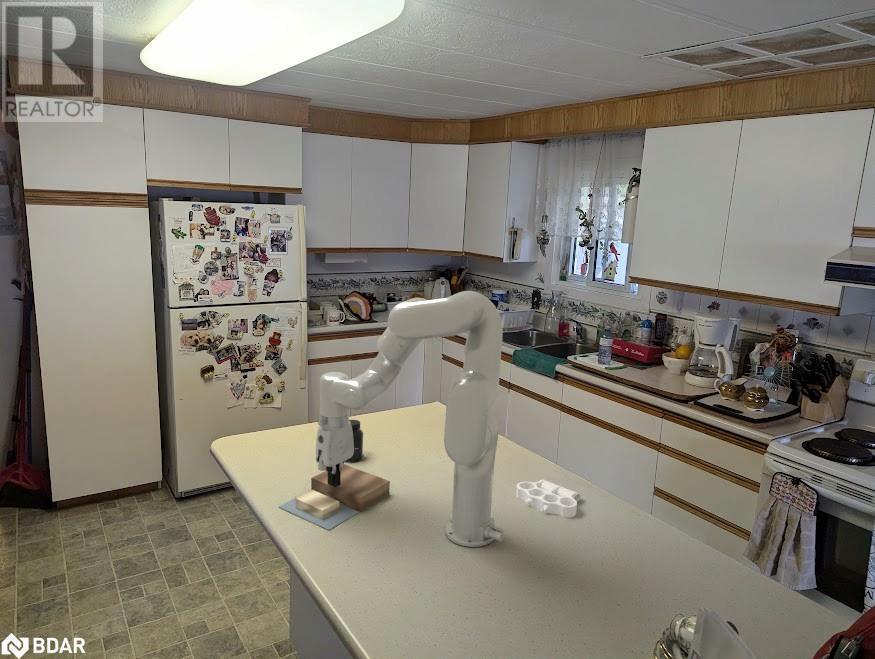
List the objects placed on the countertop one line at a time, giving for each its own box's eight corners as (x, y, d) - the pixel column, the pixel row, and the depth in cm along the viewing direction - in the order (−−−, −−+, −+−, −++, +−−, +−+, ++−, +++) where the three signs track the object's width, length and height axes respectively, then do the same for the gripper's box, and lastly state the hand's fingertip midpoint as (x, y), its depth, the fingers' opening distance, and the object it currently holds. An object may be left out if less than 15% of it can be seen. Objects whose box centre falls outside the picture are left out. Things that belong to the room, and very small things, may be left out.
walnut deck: (389, 494, 164) (389, 481, 163) (360, 511, 154) (360, 497, 153) (341, 475, 174) (341, 463, 173) (311, 491, 164) (311, 477, 163)
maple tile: (322, 510, 149) (322, 519, 149) (339, 501, 153) (339, 510, 154) (295, 498, 154) (295, 506, 155) (312, 489, 159) (312, 498, 160)
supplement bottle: (351, 464, 181) (352, 427, 179) (336, 458, 185) (336, 422, 183) (367, 457, 187) (367, 421, 184) (351, 451, 191) (352, 416, 188)
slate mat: (359, 512, 154) (359, 511, 154) (328, 530, 145) (328, 529, 145) (310, 491, 164) (310, 490, 164) (278, 507, 155) (278, 506, 155)
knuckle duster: (590, 505, 163) (563, 525, 153) (534, 483, 175) (506, 500, 164) (591, 494, 163) (565, 513, 152) (535, 473, 174) (507, 489, 163)
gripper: (323, 431, 146) (323, 500, 150) (364, 415, 158) (363, 479, 162) (302, 424, 150) (303, 491, 154) (343, 409, 162) (343, 471, 166)
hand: (334, 484), depth 158 cm, fingers closed
